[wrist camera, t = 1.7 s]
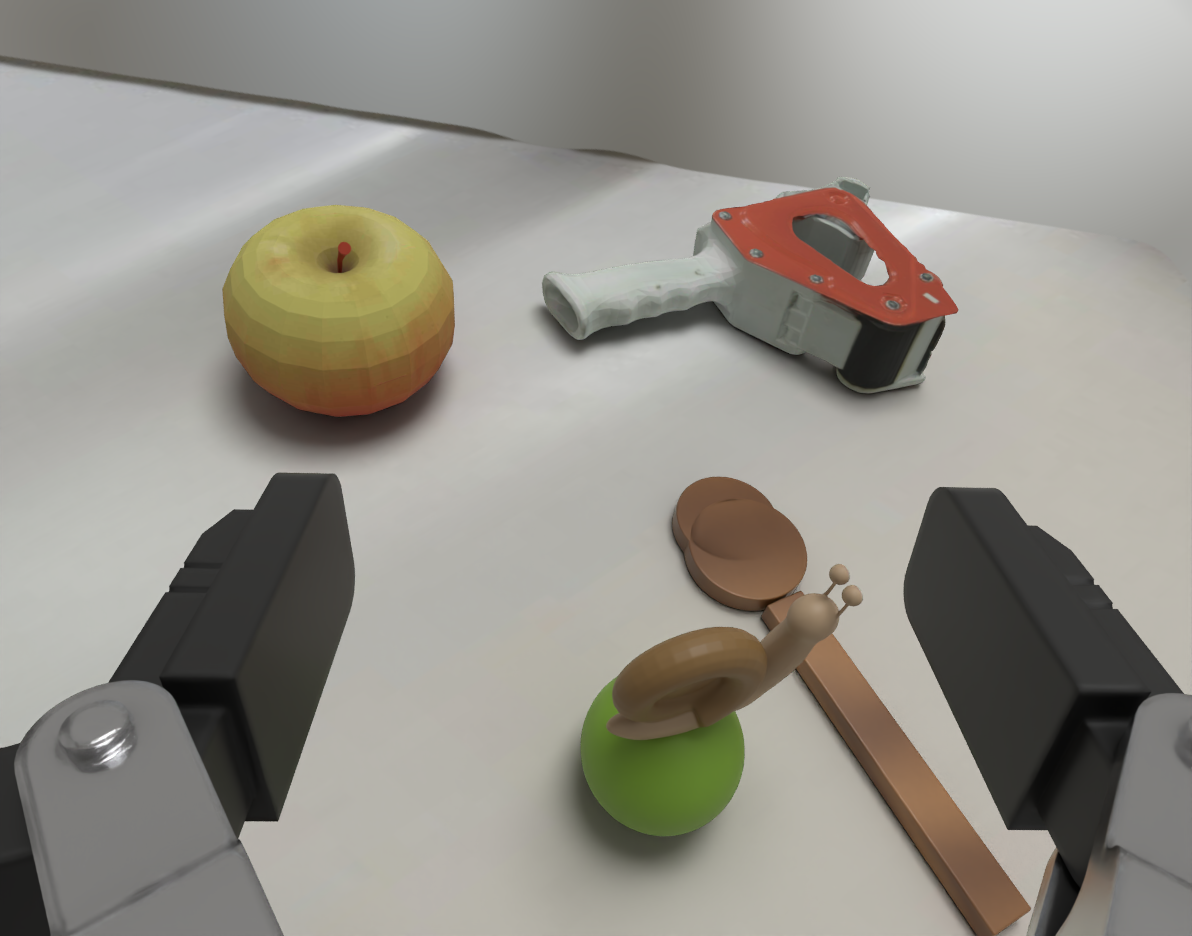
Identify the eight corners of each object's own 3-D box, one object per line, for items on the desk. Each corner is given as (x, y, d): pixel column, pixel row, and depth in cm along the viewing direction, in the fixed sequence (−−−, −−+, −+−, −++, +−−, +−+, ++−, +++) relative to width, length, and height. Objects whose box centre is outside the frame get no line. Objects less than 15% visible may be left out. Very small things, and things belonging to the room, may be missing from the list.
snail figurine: (771, 816, 29) (917, 671, 20) (602, 878, 27) (677, 749, 18) (708, 678, 32) (808, 495, 23) (552, 725, 30) (592, 546, 21)
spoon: (1050, 891, 29) (1066, 884, 28) (943, 968, 27) (957, 963, 26) (741, 475, 39) (747, 462, 38) (647, 509, 37) (651, 496, 36)
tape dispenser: (523, 347, 44) (883, 492, 39) (521, 269, 40) (922, 419, 35) (657, 186, 54) (958, 285, 49) (666, 109, 50) (996, 209, 45)
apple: (397, 478, 36) (384, 344, 30) (200, 409, 37) (148, 266, 31) (485, 340, 42) (490, 205, 36) (314, 284, 43) (289, 144, 37)
